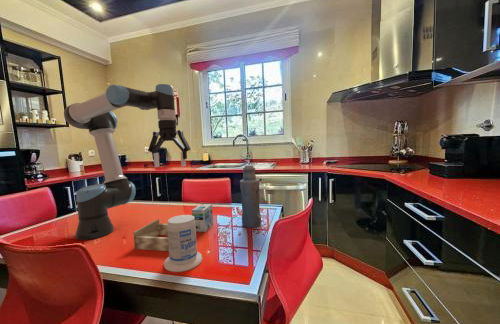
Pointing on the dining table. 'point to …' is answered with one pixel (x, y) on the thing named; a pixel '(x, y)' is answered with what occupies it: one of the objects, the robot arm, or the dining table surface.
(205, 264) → the dining table surface
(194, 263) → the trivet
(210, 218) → the light bulb box
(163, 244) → the shelf bay
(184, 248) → the supplement tub
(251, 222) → the bottle
